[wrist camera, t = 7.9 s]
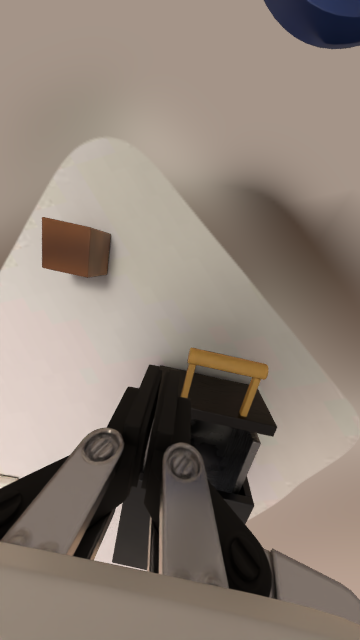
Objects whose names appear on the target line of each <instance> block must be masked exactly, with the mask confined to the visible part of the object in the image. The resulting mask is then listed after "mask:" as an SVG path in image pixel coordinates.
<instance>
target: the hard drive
mask: <svg viewBox="0 0 360 640" xmlns="http://www.w3.org/2000/svg"><path fill="white" fill-rule="evenodd" d="M17 480H18V478H13V477H7V476H0V488H2V487H4V486H6V485H8V484H10V483H12V482H14V481H17Z"/></svg>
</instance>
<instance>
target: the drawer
mask: <svg viewBox="0 0 360 640" xmlns="http://www.w3.org/2000/svg"><path fill="white" fill-rule="evenodd" d="M188 363H189V365H188V369H187V371H183V370H180V380H179V389H178V396H179V397H184V398H189V399H191V446H193V447H194V448H195V449H197V450H198V452H199V453H200V454H201V456H202V459H203V461H204V466H205V471H206V476H207V480H208V481H209V482H210V483H211V484H212V486H213V487H214V488H215V489H216V490H220V491H225V492H229V493H234V494H239V492H240V490H241V487H242V485H243V483H244V480H245V478H246V476H247V474H248V471H249V469H250V467H251V465H252V462H253V460H254V458H255V455H256V453H257V451H258V449H259V446H260V444H261V443H260V440H259V438H258V435H257V433H259V434H264V435H268V436H274V433H275V431H276V429H277V426H276V424H275V422H274V420H273V418H272V416H271V414H270V412H269V410H268V408H267V406H266V404H265V402H264V400H263V398H262V396H261V394H260V392H259V390H258V386H259V383H260V381H261V379H263V380H264V379H266V378H267V376H268V366H267V365H266V364H264V363H259V362H255V361H250V360H246V359H241V358H236V357H232V356H227V355H223V354H218V353H214V352H209V351H205V350H200V349H196V348H190V351H189V355H188ZM196 365H200V366H204V367H209V368H213V369H218V370H222V371H227V372H231V373H236V374H241V375H245V376H250V377H252V379H251V382H250V384H249V385H247V384H242V383H238V382H233V381H229V380H224V379H220V378H215V377H211V376H206V375H202V374H197V373H194V371H195V367H196ZM159 369H161V370H163V373H162V378H161V384H160V389H159V395H158V401H159V397H160V393H161V389H162V385H163V381H164V377H165V373H166V371H170V369H174V368H170V367H165V366H161V365H160V368H159ZM175 370H179V369H175ZM158 401H157V405H158ZM156 409H157V406H156ZM155 413H156V412H155ZM154 417H155V416H154ZM153 422H154V420H153ZM152 426H153V424H152ZM151 430H152V429H151ZM150 435H151V433H150ZM149 441H150V437H149ZM149 441H148V445H147V449H146V454H145V458H144V463H143V468H142V473H143V474H144V469H145V463H146V458H147V452H148V447H149Z"/></svg>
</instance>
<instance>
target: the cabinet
mask: <svg viewBox="0 0 360 640" xmlns="http://www.w3.org/2000/svg"><path fill="white" fill-rule="evenodd" d="M145 454H146V453H145ZM144 458H145V457H144ZM143 463H144V461H143ZM142 468H143V465H142ZM143 475H144V474H143V473H142V469H141V473H140V477H139V481H138V485H137V487H132V488H131V491H130V495H129V497H127V499H126V500H125V501H124V502H123V505H122V510H121V516H120V521H119V527H118V532H117V537H116V543H115V548H114V554H113V559H112V562H113V563H117V564H122V565H126V566H131V567H135V568H140V569H144V570H147V566H148V546H149V526H150V517H151V516H150V514H149V513H148V511H147V509H146V507H145V505H144V498H145V493H146V489H141V486H142V480H143ZM217 492H218V493H219V494H220V495H221V496H222V498H223V499H224V500H225V501H226V502H227V504H228V505H229V506H230V507H231V508H232V510H233V511H234V512H235V513H236V514H237V516H238V517H239V518H240V519H241V520H242V522H243V523H244V524H245V523H246V522H247V520H248V518H249V516H250V514H251V511H252V509H253V507H254V503H253V499H252V495H251V491H250V487H249V483H248V479H247V476H246V478H245V480H244V483H243V485H242V487H241V490H240V492H239V494H234V493H229V492H225V491H220V490H217Z"/></svg>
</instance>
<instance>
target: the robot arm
mask: <svg viewBox="0 0 360 640" xmlns="http://www.w3.org/2000/svg"><path fill="white" fill-rule="evenodd" d="M159 368H160V366H155V365H149V367H148V369H147V371H146V374H145V376H144V378H143V381H142V383H141V385H140V388H139V389H138V388H133V387H128V388H127V389H126V391H125V393H124V395H123V397H122V399H121V401H120V403H119V405H118V407H117V409H116V411H115V412H114V414H113V416H112V418H111V420H110V422H109V424H108V426H107V428H100V429H97V430H94V431H93V432H91V433H89V434H88V435H87V436H86V437H85V438H84V439H83V440H82V441H81V442H80V444H79V445H78V446H77V447H76V449H75V450H74V451H73V452H72V454H71V455H69V456H67V457H65V458H63V459H61V460H59V461H56V462H54V463H52V464H50V465H48V466H46V467H44V468H42V469H40V470H38V471H35V472H33V473H31V474H29V475H27V476H25V477H23V478H21V479H19V480H17V481H14V482H12V483H10V484H8V485H6V486H4V487H2V488H0V640H360V600H359V599H358V598H357V596H356V595H355V594H354V593H353V592H352V591H351V590H349V589H348V588H347V587H345V586H344V585H342V584H341V583H339V582H337V581H335V580H333V579H331V578H329V577H327V576H325V575H323V574H322V573H319V572H317V571H316V570H313V569H312V568H310V567H308V566H306V565H304V564H302V563H300V562H298V561H296V560H294V559H292V558H290V557H288V556H286V555H284V554H282V553H280V552H278V551H276V550H274V549H272V550H271V552H269V551H268V550H266V549H264V548H263V547H262V546H261V544H260V543H259V542H258V540H257V539H256V537H255V536H254V535H253V534H252V533H251V531H250V530H249V529H248V528H247V526H246V525H245V524H244V523H243V522H242V520H241V519H240V518H239V517H238V516H237V514H236V513H235V512H234V511H233V510H232V508H231V507H230V506H229V505H228V504H227V502H226V501H225V500H224V499H223V498H222V496H221V495H220V494H219V493H218V492H217V490H216V489H215V488H214V487H213V486H212V484H211V483H210V482H209V481H208V480H207V476H206V471H205V466H204V461H203V459H202V456H201V454H200V453H199V452H198V450H197V449H195V448H194V447H193V446H191V399H189V398H184V397H179V396H178V389H179V380H180V370H175V369H170V371H166V373H165V377H164V381H163V385H162V389H161V393H160V397H159V401H158V395H159V389H160V384H161V378H162V373H163V370H161V369H159ZM157 401H158V405H157ZM156 406H157V409H156ZM155 412H156V413H155ZM154 416H155V417H154ZM153 420H154V422H153ZM152 424H153V426H152ZM151 429H152V430H151ZM150 433H151V435H150ZM149 437H150V441H149ZM148 441H149V447H148V452H147V458H146V463H145V469H144V475H143V480H142V486H141V489H146V493H145V498H144V505H145V507H146V509H147V511H148V513H149V514H150V516H151V517H150V526H149V546H148V566H147V571H142V570H138V569H133V568H128V567H123V566H118V565H113V564H108V563H104V562H99V561H94V558H95V556H96V554H97V551H98V549H99V547H100V544H101V542H102V540H103V538H104V535H105V533H106V531H107V529H108V526H109V524H110V522H111V520H112V517H113V515H114V512H115V509H116V507H117V506H119V505H120V504H121V503H123V502H124V501H125V500H126V499H127V497H129V495H130V491H131V488H132V487H137V485H138V481H139V477H140V473H141V469H142V465H143V461H144V457H145V453H146V449H147V445H148Z"/></svg>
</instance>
